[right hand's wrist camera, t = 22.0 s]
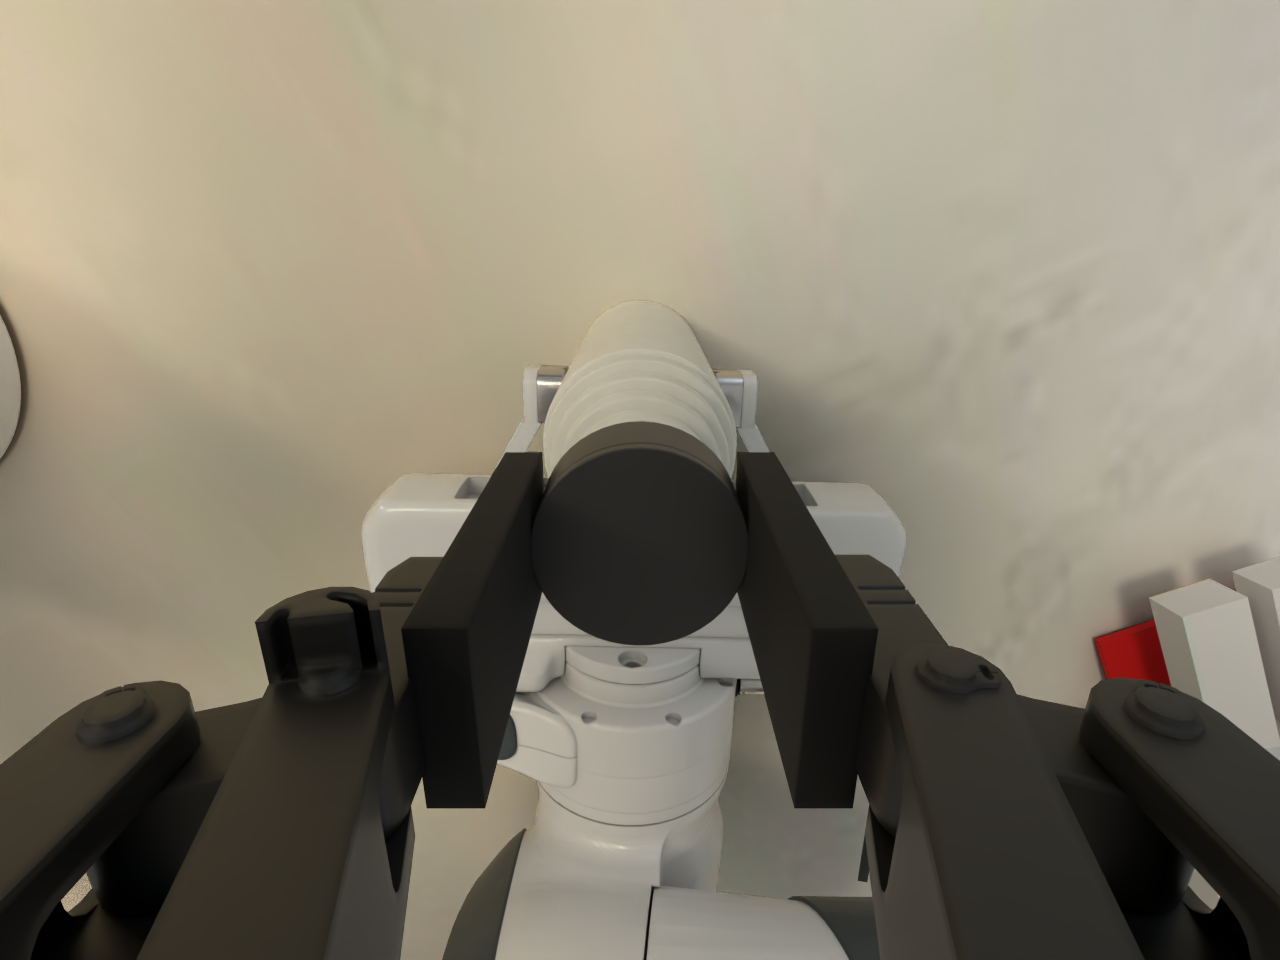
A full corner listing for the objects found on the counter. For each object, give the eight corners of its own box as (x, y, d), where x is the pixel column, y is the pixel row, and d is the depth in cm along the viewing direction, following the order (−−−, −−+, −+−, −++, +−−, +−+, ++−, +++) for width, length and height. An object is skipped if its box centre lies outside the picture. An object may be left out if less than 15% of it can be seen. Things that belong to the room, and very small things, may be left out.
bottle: (555, 360, 30) (444, 533, 13) (641, 273, 29) (644, 341, 12) (638, 443, 32) (635, 698, 15) (724, 363, 30) (834, 541, 13)
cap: (730, 410, 13) (744, 436, 12) (742, 590, 15) (755, 637, 13) (528, 431, 14) (512, 460, 12) (557, 607, 15) (547, 655, 13)
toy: (1550, 589, 23) (1626, 1201, 29) (1238, 493, 36) (1334, 929, 42) (1185, 696, 25) (1326, 1255, 31) (1012, 567, 38) (1134, 977, 44)
